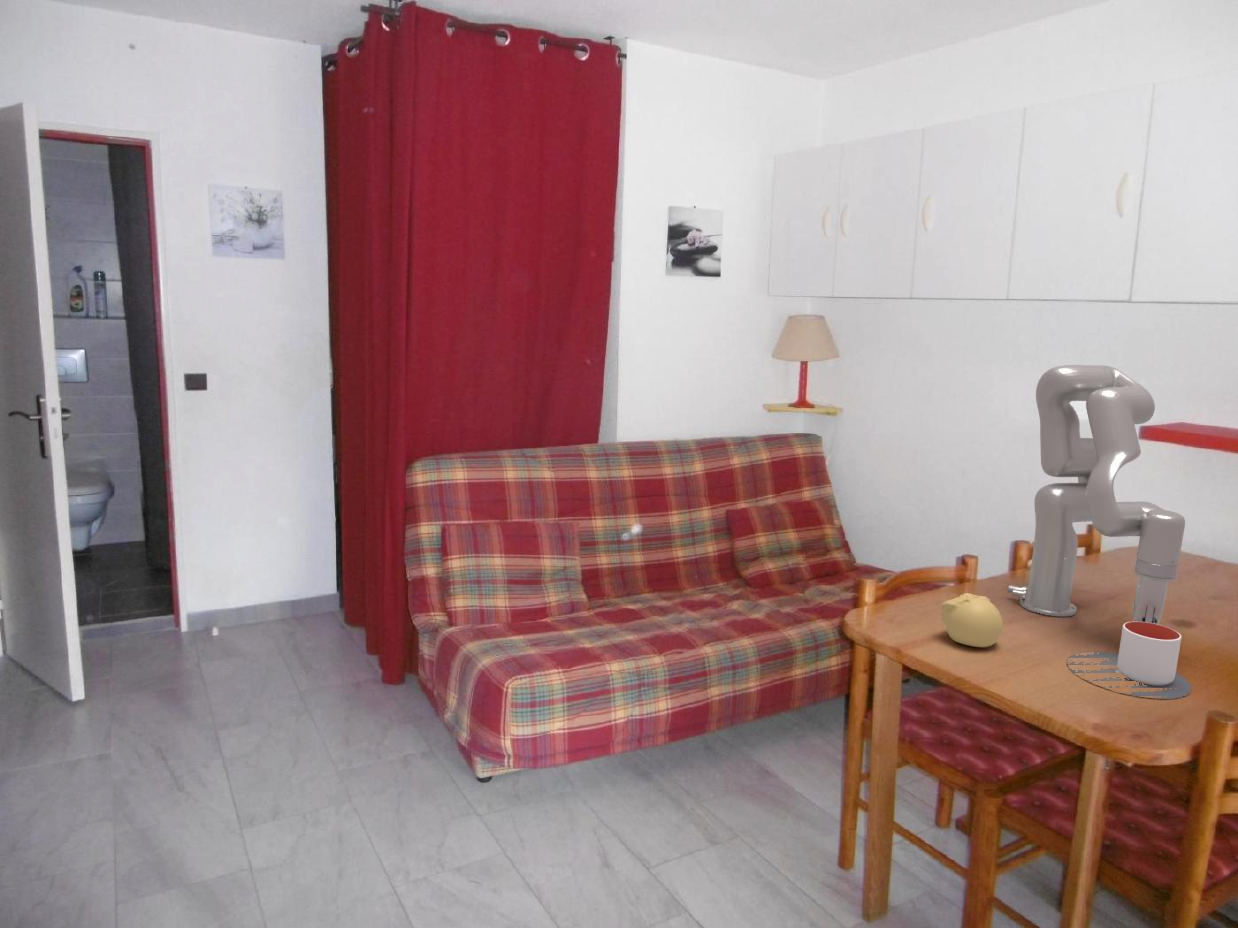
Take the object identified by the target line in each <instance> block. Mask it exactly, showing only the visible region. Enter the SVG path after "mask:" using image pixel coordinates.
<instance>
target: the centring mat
mask: <svg viewBox="0 0 1238 928" xmlns="http://www.w3.org/2000/svg"><path fill="white" fill-rule="evenodd" d="M1093 652H1094V654H1093V655H1091V654H1092V653H1091V654H1090V655H1089V654H1087V655H1086V656H1084V655H1080V654H1079V655H1078V656H1076V655H1074V654H1071V655H1070V656H1069V657H1068V658H1109V661H1107V659H1106V660H1105V661H1101V662H1100V664H1099V663H1095V664H1094V663H1093V665H1097V664H1099V665H1117V662H1118V655H1119V653H1116V652H1107V651H1093ZM1098 652H1099V654H1097V653H1098ZM1113 658H1115V659H1113ZM1103 660H1104V659H1103ZM1071 661H1072V660H1071ZM1078 661H1079V660H1078ZM1093 662H1094V661H1093ZM1068 663H1069V662H1068ZM1068 663H1067V662H1066V666H1067V665H1084V664H1082V663H1084V662H1080V663H1078V664H1074V663H1076V662H1072V663H1071V662H1070V664H1068ZM1090 663H1092V662H1090ZM1090 663H1086V664H1085V665H1091V664H1090ZM1078 669H1079V668H1078ZM1100 670H1101V671H1097V670H1093V671H1090V672H1087V671H1089V670H1086V673H1092V672H1093V673H1120V672H1119V670H1118V668H1116V670H1115V668H1114V669H1113V668H1109V669H1104V670H1103V668H1102V669H1100ZM1071 671H1072V672H1071ZM1071 671H1070V672H1071V673H1072V674H1074V673H1085V672H1084V671H1082V670H1078V672H1075V671H1076V670H1072V669H1071ZM1094 671H1095V672H1094ZM1103 678H1104V677H1103ZM1117 678H1120V677H1116V679H1114V678H1112V677H1109V680H1108V679H1107V678H1104V679H1100V681H1122V679H1117ZM1124 679H1125V680H1124V681H1133V680H1131V679H1129V678H1128V679H1129V680H1128V679H1127V678H1124ZM1087 681H1089V680H1086V681H1085V682H1087ZM1093 681H1099V679H1096V680H1093ZM1134 685H1135V686H1132V687H1131V688H1163V689H1162V691H1154V692H1150V691H1147V692H1144V691H1143V692H1141V691H1139V692H1132V693H1131V694H1127V693H1126V694H1127V695H1126V696H1129V695H1132V696H1131V697H1134V696H1162V697H1161V698H1158V697H1157V698H1155V697H1154V698H1155V699H1154V700H1159V699H1168V700H1176V699H1175V698H1178V699H1181V697H1182V698H1184V697H1183V696H1185V697H1186V696H1188V695H1189V694H1191V692H1192V685H1191V683H1190V682H1189V681H1188V680H1187V678H1185V677H1184V676H1182V675H1181V674H1180V673H1178V672H1176V674H1175V679H1174V680H1173V682H1171V683H1170V684H1167V685H1162V686H1155V685H1147V684H1144V685H1147V686H1143V685H1142V683H1141V684H1140V683H1139V686H1136V684H1134ZM1101 687H1102V686H1101ZM1101 687H1100V688H1101ZM1119 687H1120V686H1116V688H1119ZM1126 687H1128V686H1126ZM1103 688H1105V687H1103ZM1103 688H1102V689H1103ZM1109 688H1112V686H1109ZM1124 688H1125V687H1124ZM1165 688H1167V690H1164V689H1165ZM1169 688H1172V689H1169ZM1175 688H1177V689H1175ZM1158 690H1159V689H1158ZM1124 694H1125V693H1124ZM1124 694H1123V695H1124ZM1164 696H1166V697H1164ZM1147 698H1148V697H1147ZM1147 698H1146V699H1147Z"/></svg>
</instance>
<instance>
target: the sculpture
mask: <svg viewBox="0 0 1238 928" xmlns="http://www.w3.org/2000/svg"><path fill="white" fill-rule="evenodd" d="M940 613H941V617H940V618H941V620H942V622H943V625H944V626H945V629H946V632H947V635H949V637H950V638H951V640H953V642H956V643H959V644H962V645H965V646H969V647H974V648H975V647H976V648H988V647H992V646H993V645H994V644H996V642H997V641H998V640H999V639H1000V636H1001V634H1002V633H1003V625H1004V624H1003V623H1004V622H1003V618H1002V614H1001V613H1000V610H999V609H998V608H997V606H995V604H993V603H992V602H991V599H990V598H988V597H987V596H983V595H976V594H972V593H969V592H966V593H962V594H960V595H959V596H957V597H955V598H952V599H948V600H945V601H943V603H942V604H941V612H940Z"/></svg>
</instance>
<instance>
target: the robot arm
mask: <svg viewBox="0 0 1238 928" xmlns="http://www.w3.org/2000/svg"><path fill="white" fill-rule="evenodd" d="M1035 388H1036V390H1035V401H1036V406H1037V409H1038V410H1037V411H1038V415H1039V427H1040V428H1039V429H1040V430H1039V436H1040V437H1039V438H1040V439H1039V441H1040V443H1039V445H1040V464H1041V469H1042V470H1043V473H1044V474H1045V475H1047V476H1050V477H1053V478H1077V482H1056V483H1055V482H1054V483H1050V484H1047V485H1044V486H1042V487H1041V488H1039V489H1038V491H1037V492H1036V494H1035V497H1034V502H1033V503H1034V505H1033V506H1034V515H1035V533H1034V539H1033V540H1034V541H1033V548H1032V549H1033V550H1032V556H1031V564H1030V571H1029V572H1030V573H1029V580H1028V581H1029V582H1028V583H1027V586H1026V585H1023V586H1018V585H1013V584H1009V585H1008V590H1007V591H1008V593H1011V594H1012V596H1020V598H1019V604H1020V606H1021V607H1022V608H1024V609H1025V610H1028V611H1030V612H1033V613H1036V612H1037V614H1039V613H1040V615H1043V614H1044V616H1049V615H1050V617H1059V616H1060V617H1063V618H1064V617H1070V616H1074V615H1076V613H1077V606H1076V605H1075V604H1074V603H1072V602H1071V600H1072V592H1073V584H1074V580H1075V579H1074V578H1075V571H1076V564H1077V563H1076V562H1077V557H1078V555H1077V554H1078V547H1079V539H1078V538H1079V537H1078V536H1077V533H1076V531H1075V528H1074V526H1073V523H1081V522H1082V523H1085V522H1088V523H1089V522H1091V523H1092V525H1093V526H1094V529H1095V530H1096V531H1097V532H1098V533H1099V534H1100V535H1102V536H1105V537H1108V538H1121V537H1123V538H1124V537H1139V539H1138V546H1137V552H1136V553H1137V554H1136V559H1135V565H1134V571H1133V572H1134V574H1135V575H1137V576H1138V579H1137V584H1136V590H1135V597H1134V603H1133V608H1132V620H1133V621H1138V622H1148V623H1154V624H1158V625H1161V621H1162V616H1163V613H1164V609H1165V608H1164V607H1165V602H1166V599H1167V598H1166V597H1167V593H1168V588H1169V587H1168V586H1169V582H1174V581H1175V580H1176V579H1177V574H1178V570H1179V569H1178V568H1179V564H1180V563H1179V562H1180V556H1181V552H1182V544H1183V539H1184V533H1185V532H1184V531H1185V527H1186V520H1185V516H1183V515H1182V514H1181V513H1178V512H1174V511H1171V510H1166V509H1164V508H1161V507H1160V506H1158V505H1156V504H1155V503H1152V502H1149V501H1117V499H1116V496H1115V490H1114V489H1115V488H1114V483H1115V478H1116V476H1117V473H1118V472H1119V471H1120V470H1121V468H1122V467H1124V466H1125V465H1127V464H1128V463H1131V462H1133V461H1135V460H1137V458H1139V457H1140V455H1141V454H1142V453H1141V452H1142V449H1141V447H1140V443H1139V438H1138V434H1137V429H1136V425H1142V424H1146V423H1148V422H1149V421H1150V420H1151V419H1152V417H1153V416H1154V414H1155V410H1156V409H1155V407H1156V406H1155V405H1156V404H1155V400H1154V398H1153V396H1152V394H1151V393H1150V392H1149V391H1148V390H1147V389H1146V388H1145V387H1144V386H1143V385H1142V384H1140V383H1138V382H1137V381H1136V380H1134V379H1133V378H1131V377H1129V376H1128V375H1127V374H1125V373H1124V372H1122V371H1121V370H1119V368H1115V367H1113V366H1109V365H1100V364H1099V365H1095V364H1094V365H1092V364H1090V365H1089V364H1088V365H1087V364H1066V365H1065V364H1064V365H1057V366H1053V367H1051V368H1049V369H1048V370H1046V371H1045V372H1044V373H1043V374H1042V375H1041V376H1040V378H1039V380H1038V382H1037V385H1036V387H1035ZM1071 402H1085V409H1086V413H1087V417H1088V422H1089V427H1090V432H1091V436H1092V437H1081V433H1080V427H1081V425H1080V423H1081V422H1080V418H1079V416H1078V414H1077V411H1076V410H1075V408H1074V407H1073V406H1072V405H1071Z"/></svg>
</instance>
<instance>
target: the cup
mask: <svg viewBox="0 0 1238 928" xmlns="http://www.w3.org/2000/svg"><path fill="white" fill-rule="evenodd" d="M1181 642H1182V634H1181V633H1179V632H1178V631H1177V630H1175V629H1172V628H1170V627H1168V626H1165V625H1162V624H1159V625H1158V624H1154V623H1148V622H1139V621H1134V620H1133V621H1127V622H1125V623H1123V625H1122V629H1121V637H1120V642H1119V649H1118V654H1119V655H1118V662H1117V668H1118V670H1119V672H1120V673H1121V674H1122V675H1124V676H1125V677H1127V678H1129V679H1131V680H1133V681H1136V682H1139V683H1143V684H1147V685H1155V686H1162V685H1167V684H1170V683H1171V682H1173V680H1174V679H1175V674H1176V673H1177V668H1178V667H1177V666H1178V660H1179V654H1180V648H1181Z"/></svg>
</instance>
